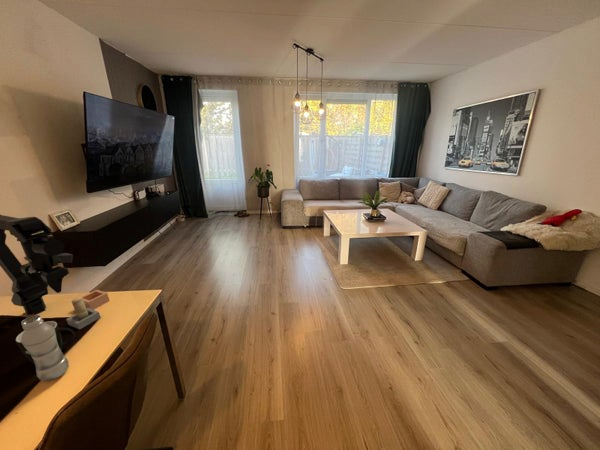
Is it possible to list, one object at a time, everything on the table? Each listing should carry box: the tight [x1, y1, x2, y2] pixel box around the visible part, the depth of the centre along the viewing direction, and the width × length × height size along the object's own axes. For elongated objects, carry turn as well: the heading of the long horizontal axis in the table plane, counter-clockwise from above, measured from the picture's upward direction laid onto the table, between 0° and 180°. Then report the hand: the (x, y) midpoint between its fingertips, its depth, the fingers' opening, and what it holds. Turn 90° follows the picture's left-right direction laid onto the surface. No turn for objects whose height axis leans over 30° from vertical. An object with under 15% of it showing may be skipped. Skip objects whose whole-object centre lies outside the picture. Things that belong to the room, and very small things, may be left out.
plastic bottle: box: [20, 314, 70, 382], centre depth 68 cm, size 6×7×20 cm
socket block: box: [65, 308, 101, 330], centre depth 91 cm, size 7×7×4 cm
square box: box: [81, 289, 110, 310], centre depth 101 cm, size 7×7×5 cm
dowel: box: [71, 296, 89, 321], centre depth 90 cm, size 3×3×10 cm
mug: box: [15, 320, 75, 365], centre depth 77 cm, size 12×9×10 cm
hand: (52, 289), depth 91 cm, fingers open, 9 cm apart
